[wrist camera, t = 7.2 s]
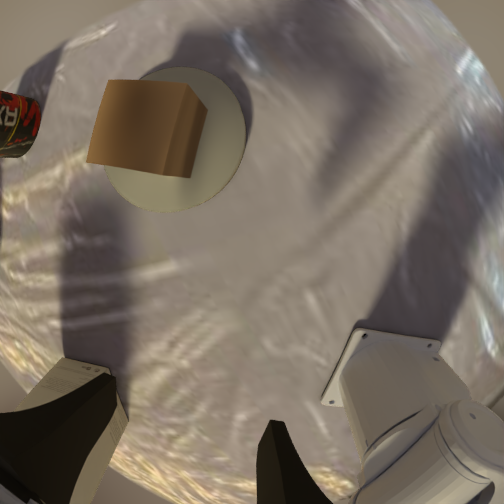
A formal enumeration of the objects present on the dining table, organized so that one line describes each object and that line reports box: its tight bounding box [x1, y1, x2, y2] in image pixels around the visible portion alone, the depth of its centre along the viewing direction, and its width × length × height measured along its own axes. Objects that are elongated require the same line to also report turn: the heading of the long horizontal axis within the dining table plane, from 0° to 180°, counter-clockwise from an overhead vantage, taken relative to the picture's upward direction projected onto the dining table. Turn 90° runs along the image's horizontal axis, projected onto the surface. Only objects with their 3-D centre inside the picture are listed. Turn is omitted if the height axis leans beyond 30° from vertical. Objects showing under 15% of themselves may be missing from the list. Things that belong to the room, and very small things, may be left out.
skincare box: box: [13, 358, 129, 504], centre depth 16 cm, size 8×7×16 cm
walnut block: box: [86, 80, 208, 178], centre depth 14 cm, size 4×4×5 cm
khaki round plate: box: [104, 67, 246, 213], centre depth 17 cm, size 10×10×2 cm
